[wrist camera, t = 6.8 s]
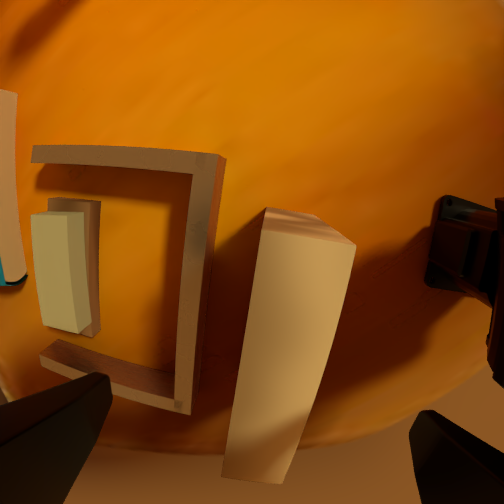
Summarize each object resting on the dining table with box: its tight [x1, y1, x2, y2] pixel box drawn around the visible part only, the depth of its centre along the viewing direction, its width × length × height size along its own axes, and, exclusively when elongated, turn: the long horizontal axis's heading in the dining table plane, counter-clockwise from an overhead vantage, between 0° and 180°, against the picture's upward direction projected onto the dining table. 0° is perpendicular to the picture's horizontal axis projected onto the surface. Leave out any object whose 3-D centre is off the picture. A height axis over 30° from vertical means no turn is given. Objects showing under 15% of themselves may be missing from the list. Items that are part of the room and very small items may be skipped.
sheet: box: [221, 207, 356, 484], centre depth 16 cm, size 3×12×10 cm, turn 171°
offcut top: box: [31, 211, 92, 334], centre depth 18 cm, size 3×8×2 cm, turn 176°
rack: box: [31, 145, 226, 415], centre depth 19 cm, size 13×17×3 cm
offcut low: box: [47, 197, 101, 337], centre depth 20 cm, size 4×10×2 cm, turn 172°
